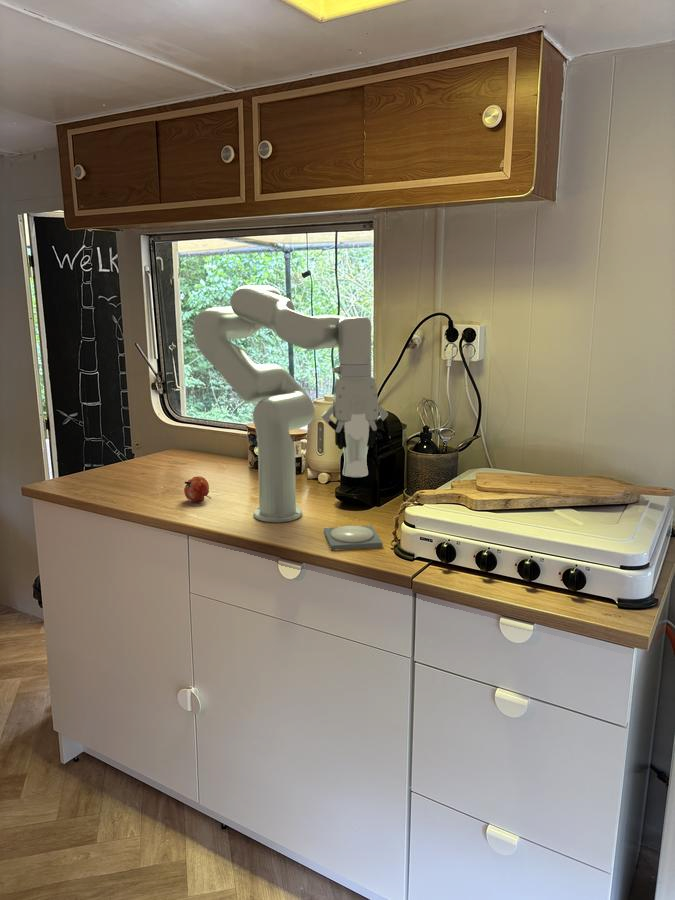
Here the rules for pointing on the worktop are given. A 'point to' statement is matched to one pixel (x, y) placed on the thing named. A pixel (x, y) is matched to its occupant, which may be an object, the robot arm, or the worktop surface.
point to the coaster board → (352, 537)
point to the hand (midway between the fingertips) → (355, 446)
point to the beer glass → (356, 446)
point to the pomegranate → (196, 489)
